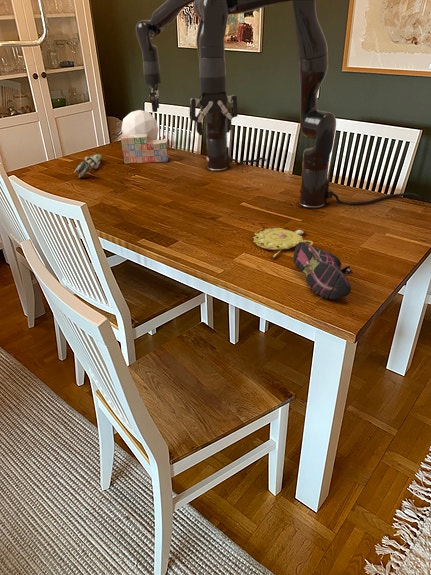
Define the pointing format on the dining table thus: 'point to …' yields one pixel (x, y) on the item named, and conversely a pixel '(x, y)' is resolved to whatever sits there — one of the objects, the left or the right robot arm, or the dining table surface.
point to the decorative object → (279, 239)
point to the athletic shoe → (322, 271)
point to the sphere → (140, 124)
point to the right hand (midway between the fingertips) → (214, 133)
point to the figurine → (88, 164)
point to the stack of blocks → (143, 149)
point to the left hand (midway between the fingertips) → (155, 110)
